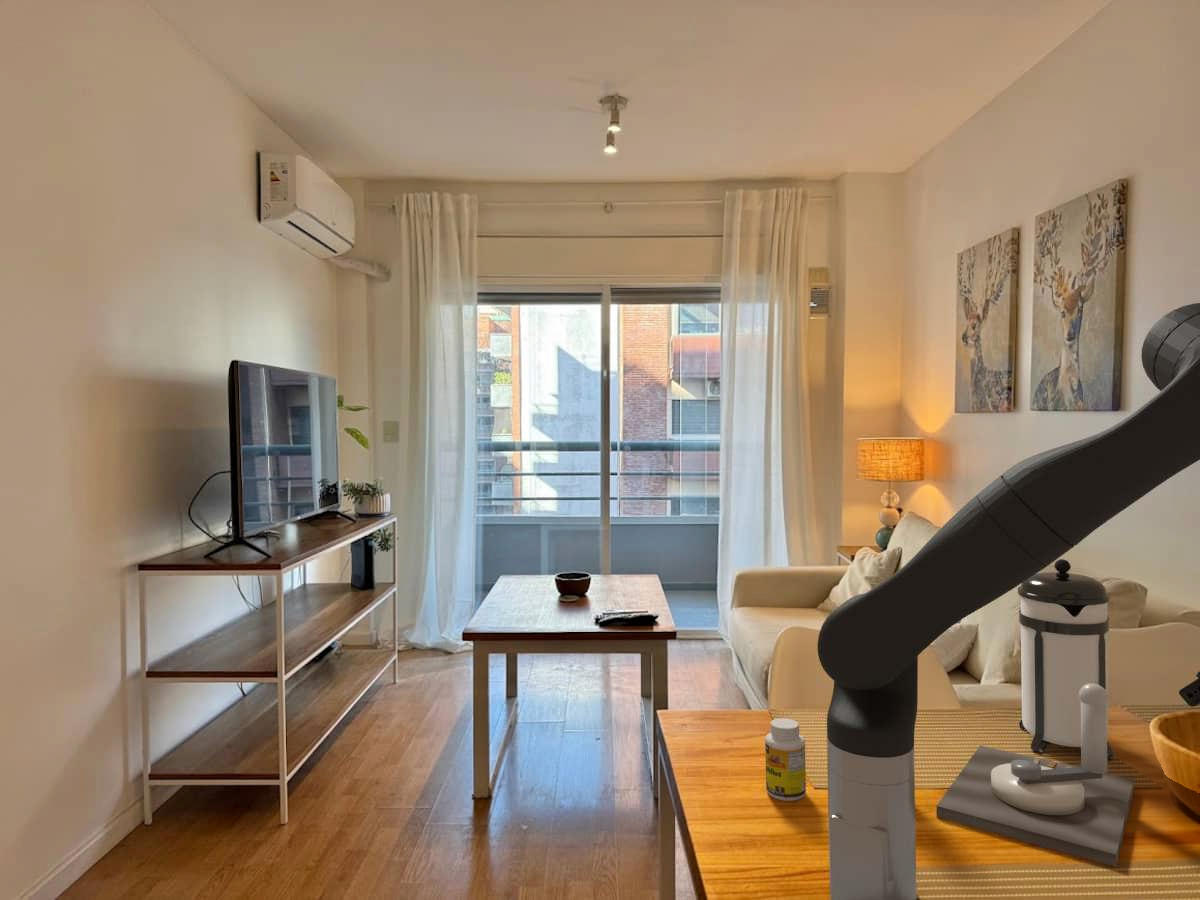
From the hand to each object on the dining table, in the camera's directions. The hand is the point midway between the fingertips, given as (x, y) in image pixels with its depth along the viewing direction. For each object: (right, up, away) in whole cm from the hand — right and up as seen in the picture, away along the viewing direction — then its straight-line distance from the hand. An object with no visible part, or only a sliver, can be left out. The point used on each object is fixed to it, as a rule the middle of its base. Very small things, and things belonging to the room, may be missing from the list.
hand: (1187, 698), depth 95 cm
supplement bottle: (-46, -19, +16) cm, 52 cm away
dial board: (-12, -18, +11) cm, 24 cm away
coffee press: (+3, -17, +31) cm, 36 cm away
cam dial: (-11, -16, +10) cm, 22 cm away
